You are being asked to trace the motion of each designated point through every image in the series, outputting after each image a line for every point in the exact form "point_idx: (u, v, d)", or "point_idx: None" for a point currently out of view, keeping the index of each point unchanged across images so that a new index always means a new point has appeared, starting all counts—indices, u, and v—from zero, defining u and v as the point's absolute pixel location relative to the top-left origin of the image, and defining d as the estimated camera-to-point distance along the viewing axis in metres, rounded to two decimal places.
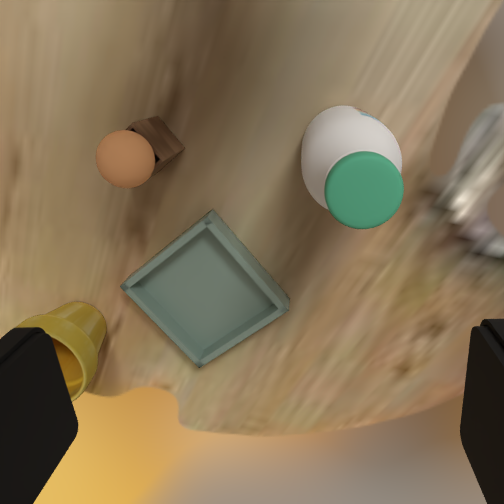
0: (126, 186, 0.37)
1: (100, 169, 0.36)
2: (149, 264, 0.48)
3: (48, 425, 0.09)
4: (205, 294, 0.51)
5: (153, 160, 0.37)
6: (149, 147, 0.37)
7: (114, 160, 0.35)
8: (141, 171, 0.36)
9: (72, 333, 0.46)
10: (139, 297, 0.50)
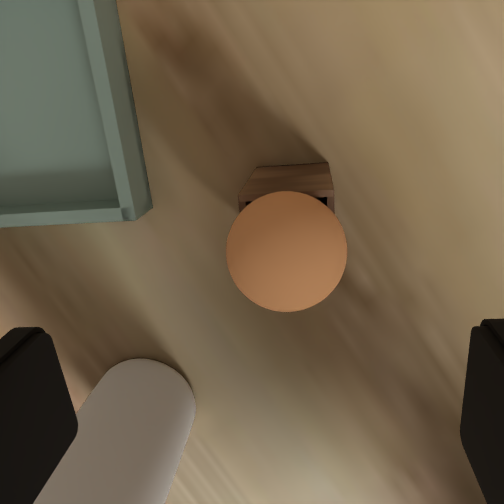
0: (235, 238, 0.16)
1: (296, 229, 0.15)
2: (99, 47, 0.21)
3: (48, 425, 0.09)
4: (8, 92, 0.25)
5: None
6: None
7: (289, 282, 0.15)
8: (241, 289, 0.17)
9: None
10: None
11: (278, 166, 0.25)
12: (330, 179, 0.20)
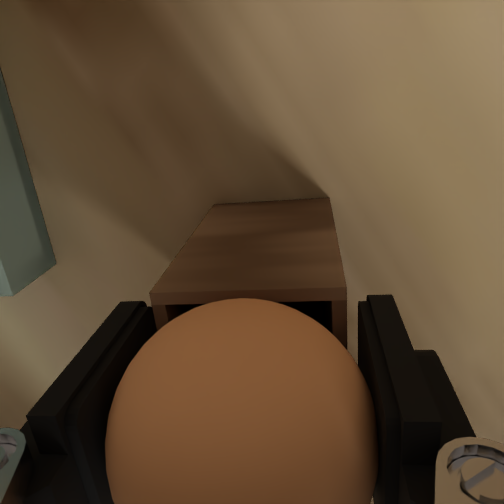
0: (113, 435, 0.07)
1: (255, 445, 0.06)
2: None
3: None
4: None
5: None
6: None
7: None
8: None
9: None
10: None
11: (248, 204, 0.15)
12: (336, 248, 0.11)
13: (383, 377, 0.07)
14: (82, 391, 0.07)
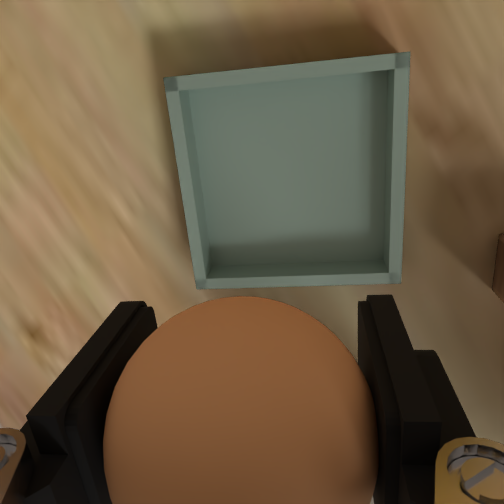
0: (111, 434, 0.07)
1: (254, 444, 0.06)
2: (404, 143, 0.25)
3: None
4: (284, 170, 0.28)
5: None
6: None
7: None
8: None
9: None
10: (363, 71, 0.24)
11: None
12: None
13: (383, 377, 0.07)
14: (82, 391, 0.07)
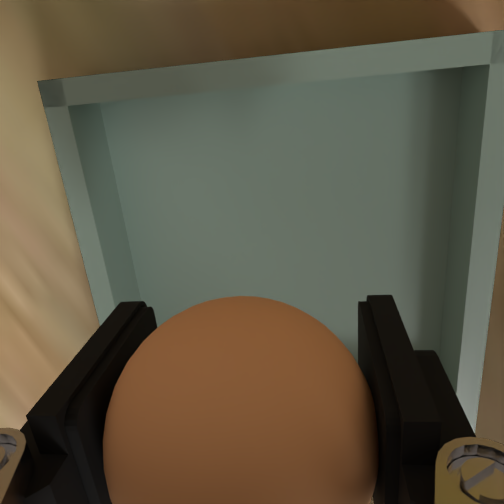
0: (110, 433, 0.07)
1: (254, 444, 0.06)
2: (498, 208, 0.13)
3: None
4: (270, 240, 0.17)
5: None
6: None
7: None
8: None
9: None
10: None
11: None
12: None
13: (383, 377, 0.07)
14: (82, 391, 0.07)
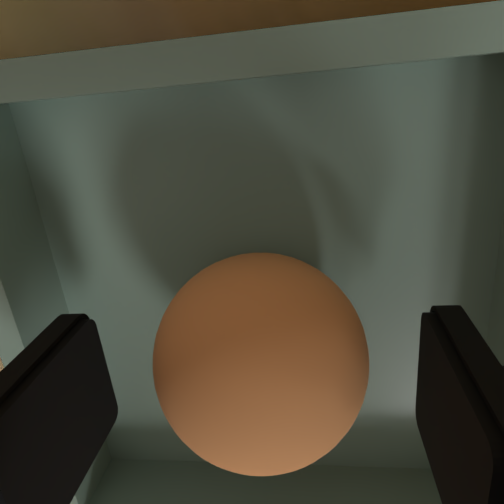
0: (164, 353, 0.09)
1: (280, 345, 0.08)
2: None
3: (94, 407, 0.10)
4: None
5: None
6: None
7: (269, 449, 0.08)
8: None
9: None
10: (478, 53, 0.08)
11: None
12: None
13: (476, 400, 0.06)
14: None
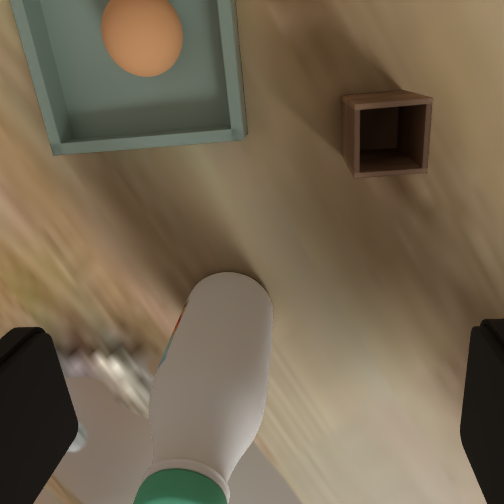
0: (112, 12, 0.25)
1: None
2: None
3: (48, 425, 0.09)
4: None
5: (123, 68, 0.27)
6: None
7: (157, 34, 0.25)
8: (122, 51, 0.25)
9: None
10: None
11: (360, 94, 0.30)
12: None
13: None
14: None
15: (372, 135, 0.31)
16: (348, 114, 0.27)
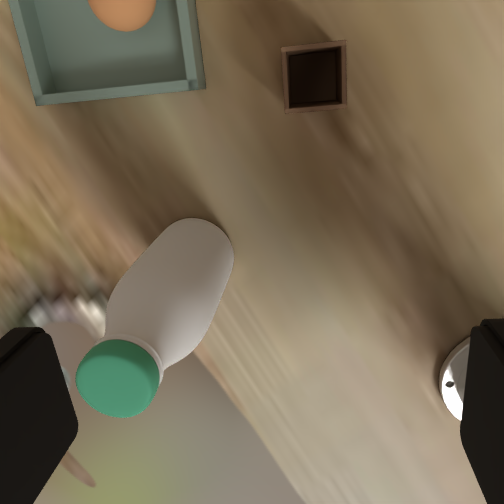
0: None
1: None
2: None
3: (48, 425, 0.09)
4: None
5: (106, 21, 0.31)
6: (120, 29, 0.32)
7: None
8: (112, 3, 0.30)
9: None
10: None
11: None
12: None
13: None
14: None
15: (314, 88, 0.35)
16: None
